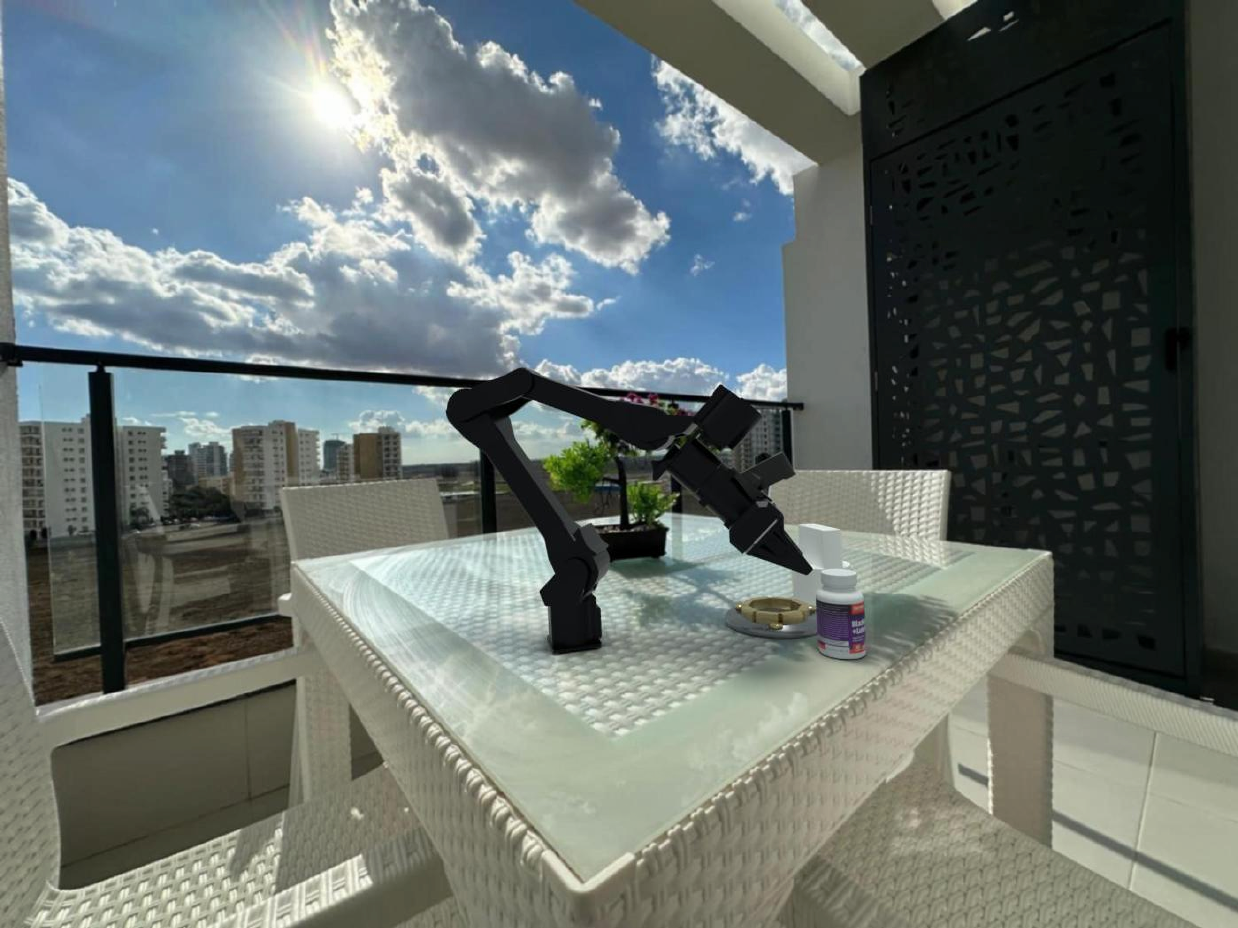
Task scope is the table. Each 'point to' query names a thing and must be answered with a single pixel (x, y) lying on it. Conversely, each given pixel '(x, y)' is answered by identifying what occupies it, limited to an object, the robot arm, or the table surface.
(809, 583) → the base with upright slab
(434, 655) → the table surface
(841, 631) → the pill bottle
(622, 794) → the table surface
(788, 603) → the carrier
